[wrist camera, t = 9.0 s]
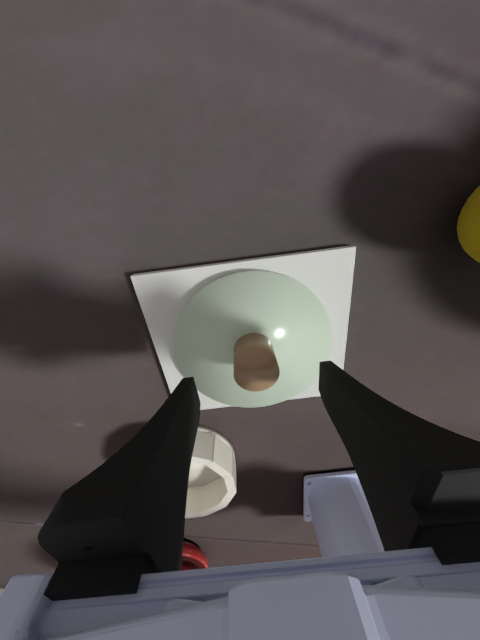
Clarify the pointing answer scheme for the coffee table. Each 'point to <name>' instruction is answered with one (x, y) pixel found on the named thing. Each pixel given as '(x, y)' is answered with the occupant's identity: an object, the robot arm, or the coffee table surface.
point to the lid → (252, 338)
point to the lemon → (470, 225)
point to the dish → (210, 474)
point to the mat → (182, 283)
